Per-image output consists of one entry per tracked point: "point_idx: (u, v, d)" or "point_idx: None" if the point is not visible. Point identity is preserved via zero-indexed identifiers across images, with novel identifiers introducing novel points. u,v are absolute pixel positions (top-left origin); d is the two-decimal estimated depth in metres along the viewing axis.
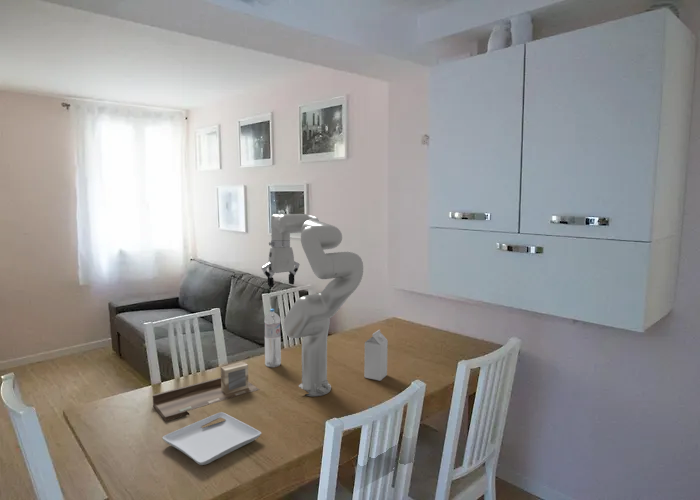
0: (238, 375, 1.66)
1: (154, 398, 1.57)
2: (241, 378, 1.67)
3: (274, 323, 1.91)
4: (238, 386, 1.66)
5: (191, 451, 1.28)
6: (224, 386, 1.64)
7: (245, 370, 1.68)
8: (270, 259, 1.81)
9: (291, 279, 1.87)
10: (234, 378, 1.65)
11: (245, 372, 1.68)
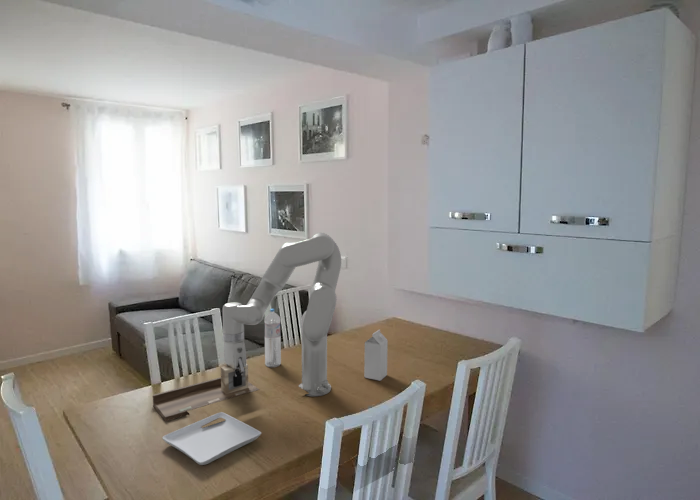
0: None
1: (154, 398, 1.57)
2: None
3: (274, 323, 1.91)
4: (238, 386, 1.66)
5: (191, 451, 1.28)
6: (224, 385, 1.64)
7: (245, 370, 1.68)
8: (240, 355, 1.62)
9: None
10: None
11: (245, 372, 1.68)
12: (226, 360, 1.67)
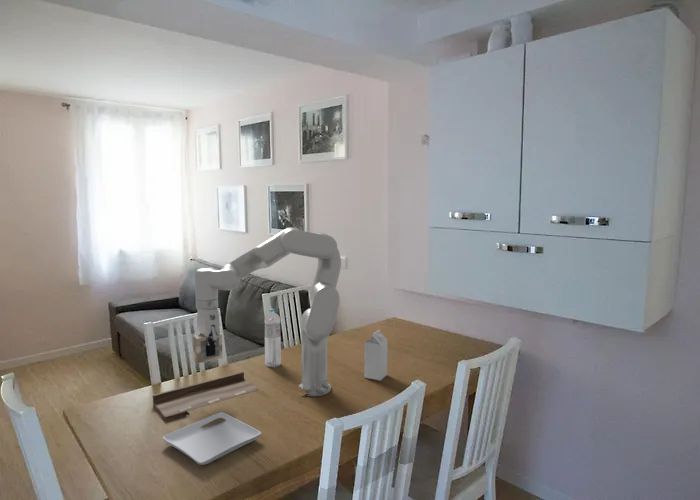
0: None
1: (154, 398, 1.57)
2: None
3: (274, 323, 1.91)
4: (211, 356, 1.59)
5: (191, 451, 1.28)
6: (196, 355, 1.56)
7: (219, 339, 1.60)
8: (213, 322, 1.55)
9: None
10: None
11: (219, 342, 1.60)
12: (199, 329, 1.59)
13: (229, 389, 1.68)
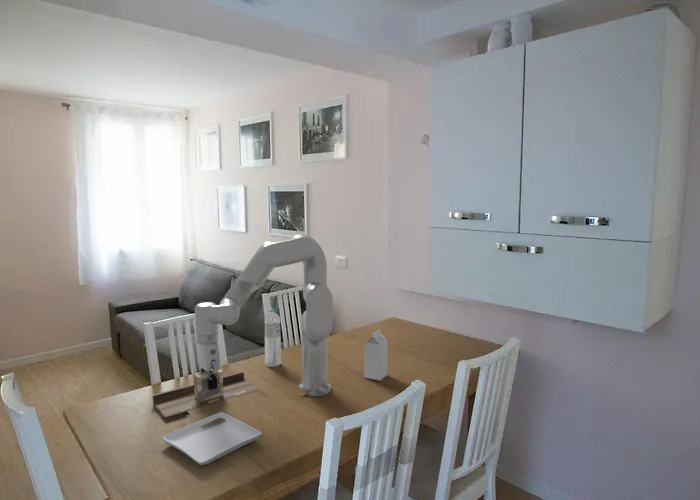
0: None
1: (154, 398, 1.57)
2: None
3: (274, 323, 1.91)
4: (212, 393, 1.60)
5: (191, 451, 1.28)
6: (197, 393, 1.58)
7: (219, 377, 1.61)
8: (213, 357, 1.56)
9: None
10: None
11: (220, 379, 1.62)
12: (199, 362, 1.60)
13: (229, 389, 1.68)
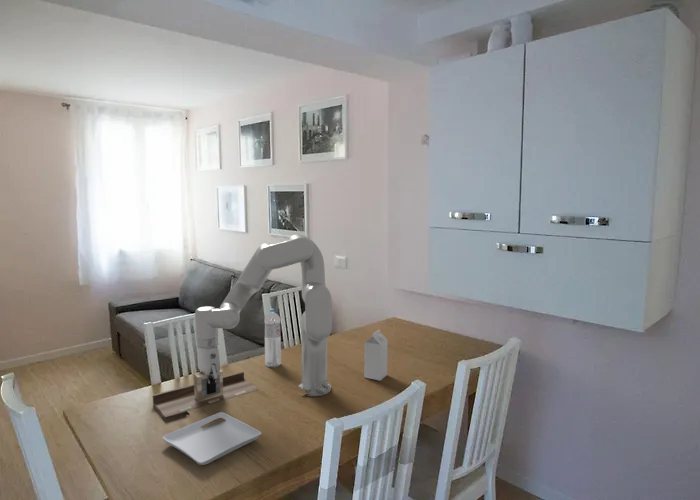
0: None
1: (154, 398, 1.57)
2: None
3: (274, 323, 1.91)
4: (212, 393, 1.60)
5: (191, 451, 1.28)
6: (197, 393, 1.58)
7: (219, 377, 1.62)
8: (213, 361, 1.56)
9: None
10: None
11: (220, 379, 1.62)
12: (199, 366, 1.61)
13: (229, 389, 1.68)
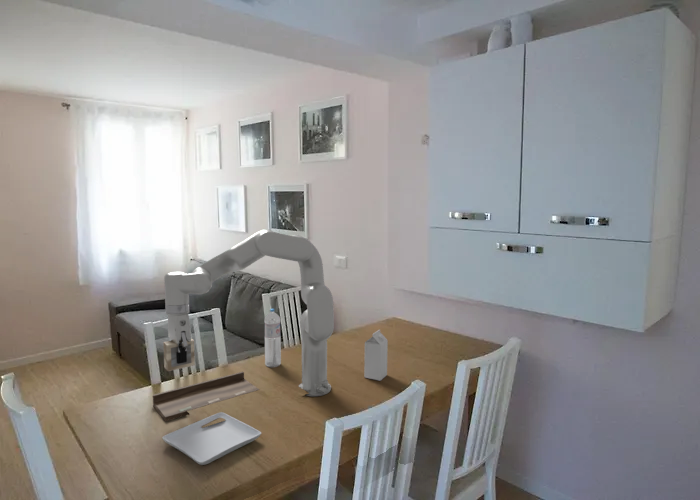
0: None
1: (154, 398, 1.57)
2: None
3: (274, 323, 1.91)
4: (182, 363, 1.52)
5: (191, 451, 1.28)
6: (166, 362, 1.50)
7: (191, 346, 1.54)
8: (183, 328, 1.48)
9: None
10: None
11: (191, 348, 1.54)
12: (169, 335, 1.53)
13: (229, 389, 1.68)
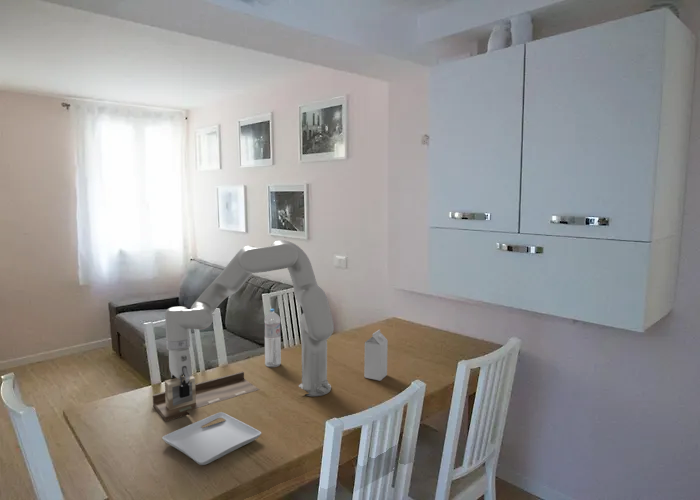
0: None
1: (154, 398, 1.57)
2: None
3: (274, 323, 1.91)
4: (184, 401, 1.54)
5: (191, 451, 1.28)
6: (168, 401, 1.52)
7: (192, 384, 1.55)
8: (184, 363, 1.50)
9: None
10: None
11: (192, 386, 1.56)
12: (171, 369, 1.54)
13: (229, 389, 1.68)
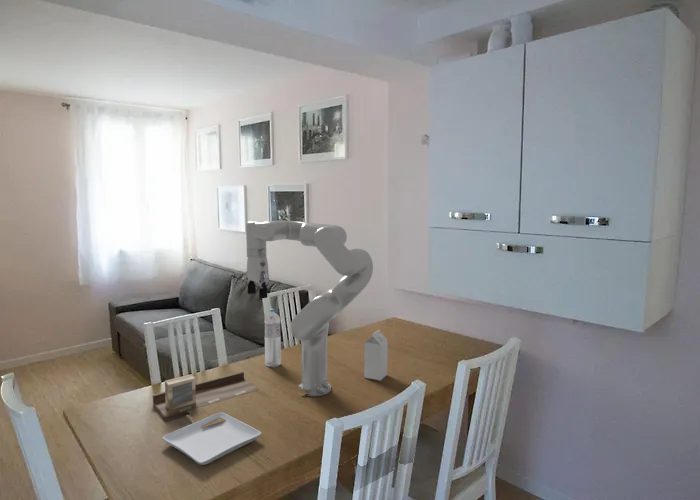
0: (184, 389, 1.54)
1: (154, 398, 1.57)
2: (187, 392, 1.55)
3: (274, 323, 1.91)
4: (184, 401, 1.54)
5: (191, 451, 1.28)
6: (168, 401, 1.52)
7: (192, 384, 1.55)
8: (263, 269, 1.72)
9: (253, 288, 1.80)
10: (179, 392, 1.53)
11: (192, 386, 1.56)
12: (249, 276, 1.76)
13: (229, 389, 1.68)
